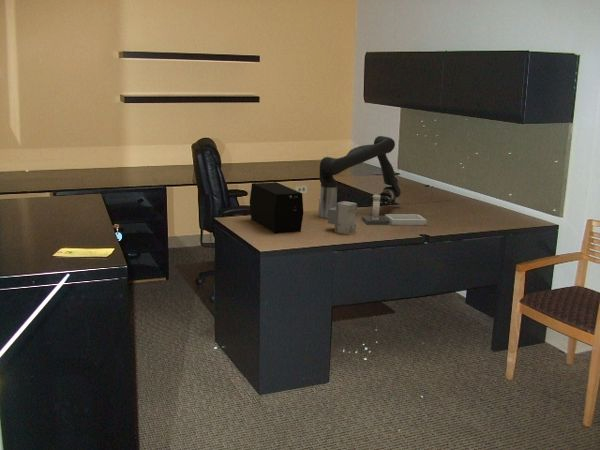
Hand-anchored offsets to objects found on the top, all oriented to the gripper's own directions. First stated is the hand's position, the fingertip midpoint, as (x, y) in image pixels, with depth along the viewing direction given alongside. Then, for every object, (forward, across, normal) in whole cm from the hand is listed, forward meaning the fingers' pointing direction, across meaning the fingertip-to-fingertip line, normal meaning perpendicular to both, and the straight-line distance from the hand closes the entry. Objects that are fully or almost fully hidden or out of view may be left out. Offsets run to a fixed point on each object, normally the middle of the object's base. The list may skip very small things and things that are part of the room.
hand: (380, 202), depth 372 cm
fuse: (+11, 0, +9) cm, 14 cm away
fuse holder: (+11, 0, +9) cm, 14 cm away
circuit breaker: (+39, -12, +9) cm, 42 cm away
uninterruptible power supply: (+45, -46, +9) cm, 65 cm away
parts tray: (+4, +15, +9) cm, 18 cm away
